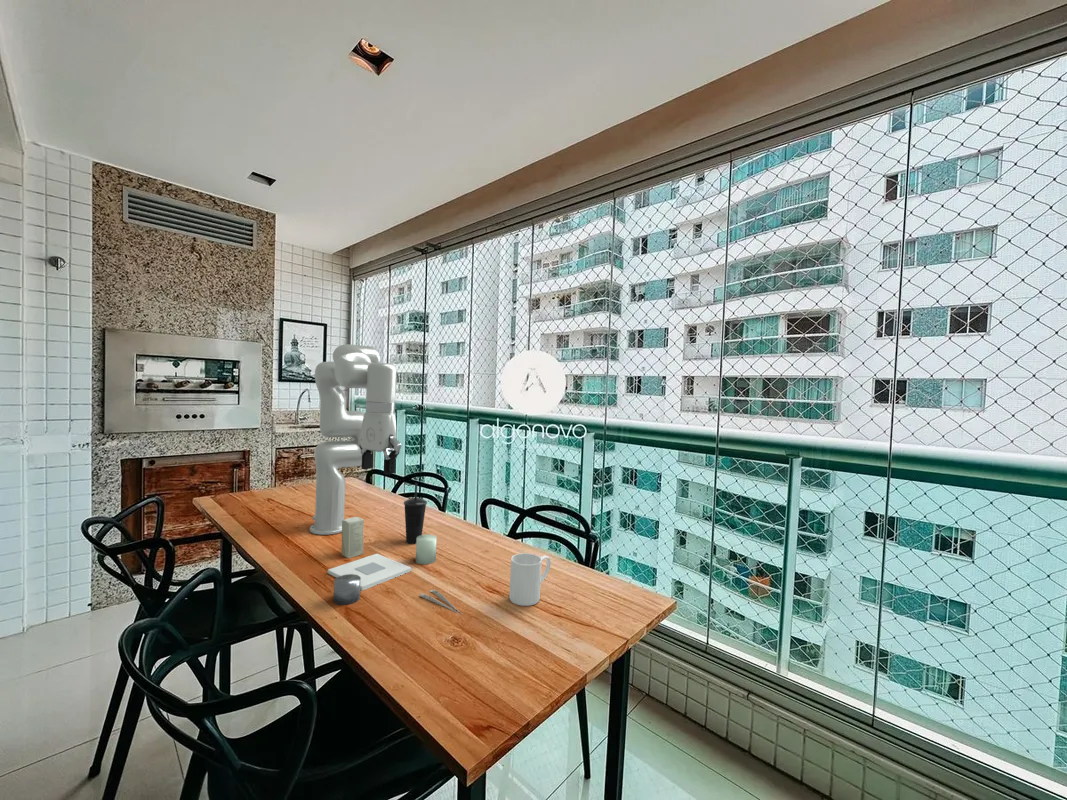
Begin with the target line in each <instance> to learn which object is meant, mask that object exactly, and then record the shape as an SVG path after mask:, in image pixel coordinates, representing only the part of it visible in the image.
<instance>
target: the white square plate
mask: <svg viewBox="0 0 1067 800" xmlns="http://www.w3.org/2000/svg"><path fill="white" fill-rule="evenodd" d="M412 569H413V568H412V567H410V566H408V565H406V564H404V563H401V562H399V561H396V560H393V559H392V558H389V557H386V556H384V555H381V554H380V553H374V554H371V555H369V556H365V557H363V558H359V559H357V560H353V561H350V562H347V563H344V564H341V565H338V566H334V567H332V568H328V569H327V574H329V575H331V577H335V579H336V578H337V577H339V576H342V575H347V574H354V575H358V576H360V578H361V580H360V591H365V590H367V589H370V588H372V587H375V586H378V585H380V584H382V583H385V582H387V581H390V579H391V580H393V579H395V577H396V578H398V577H400V575H401V576H403V575H405V573H406V574H408V573H410V571H411V572H412V571H413V570H412ZM377 584H378V585H377Z"/></svg>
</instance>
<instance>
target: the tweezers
mask: <svg viewBox="0 0 1067 800" xmlns="http://www.w3.org/2000/svg"><path fill="white" fill-rule="evenodd" d="M431 592H432V593H431ZM429 593H431V594H433V595H435V594H436V595H435V596H437V597H438V598H439V599H440V600H441V601H442V602H441V601H439V600H437V599H435V597H432V596H431V595H428V594H425V593H424V592H422V593H420V594H419V597H421V598H422V597H423V599H425V600H427V599H428V601H430V602H433V603H434V602H435V603H434V604H437V605H439V606H441V607H443V606H444V607H443V608H445V609H448V610H450V611H452V612H454V613H456V614H458V615H460V614H462V615H463V613H462V612H461V611H460V610H459V609H458V608H456V607H455V606H454V604H452V603H451V602H450V601H449V600H448V599H447V598H446V597H445V596H444V595H443V594H442V593H441V592H440V591H438V590H437V589H432V590H429ZM444 601H445V602H444ZM443 602H444V603H443ZM445 603H446V604H447V605H446V604H445ZM448 605H449V606H448ZM456 610H457V611H456ZM459 612H460V613H459Z"/></svg>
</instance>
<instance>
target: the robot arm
mask: <svg viewBox="0 0 1067 800" xmlns="http://www.w3.org/2000/svg"><path fill="white" fill-rule="evenodd" d="M332 360H333V361H322V362H320V363H318V364H317V365H316V366H315V368H314V369H315V370H314V381H315V385H316V388H317V390H318V395H319V399H320V400H319V401H320V402H319V404H320V405H319V431H320V433H321V435H322V436H323V437H325V438H352V440H331V441H323V442H320V443H319V444H317V445H316V447H315V448H314V456H313V457H314V463H315V474H316V475H315V478H316V480H315V482H316V483H315V507H314V508H315V509H314V515H313V516H312V520H314V523H313V524H312V525H310V527H309V532H310V533H311V534H313V535H318V536H319V535H322V536H323V535H324V536H325V535H329V536H330V535H335V534H340V533H342V520H344V519H345V509H346V508H345V504H346V503H345V502H346V478H345V476H344V475H343V474H342V472H341V471H340V470H339V469H341V468H351V467H352V468H353V467H361V469H362V470H367V469H373V467H374V465H373V464H374V453H373V452H377V453H381V452H383V454H384V457H385V459H384V462H383V475H386V476H387V475H392V474H395V473H396V460H397V459H398V456H399V455H400V451H401V449H402V443H401V442H400V441H399V440H398V439H397V421H396V420H397V418H396V411H395V410H396V389H397V367H396V365H395V364H393V363H387V362H381V355H380V352H379V351H378V349H377V348H376V347H373V346H369V345H362V344H361V345H358V344H349V343H348V344H347V343H346V344H345V343H344V344H341V345H338V346H337V347H336V348H334V351H333V353H332ZM340 387H343V388H347V389H365V390H366V391H365V394H366V395H365V412H363V411H361V410H348V409H347V397H346V394H345V393H344V391H343V390H342V389H341V388H340Z"/></svg>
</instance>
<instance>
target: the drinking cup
mask: <svg viewBox="0 0 1067 800" xmlns="http://www.w3.org/2000/svg"><path fill="white" fill-rule="evenodd" d="M417 496H418V483H417V482H415V483H414V497H412V498H409V499H406V500H404V502H403V505H404V519H405V520H404V521H405V522H404V523H405V524H404V525H405V538H406V539H405V543H407V544H409V545H416V540H417V537H418V536H420V535H423V529H424V524H425V523H424V521H425V515H426V514H425V513H426V506H427V504H428V501H427V500H425V499H423V498H421V497H417Z"/></svg>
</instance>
